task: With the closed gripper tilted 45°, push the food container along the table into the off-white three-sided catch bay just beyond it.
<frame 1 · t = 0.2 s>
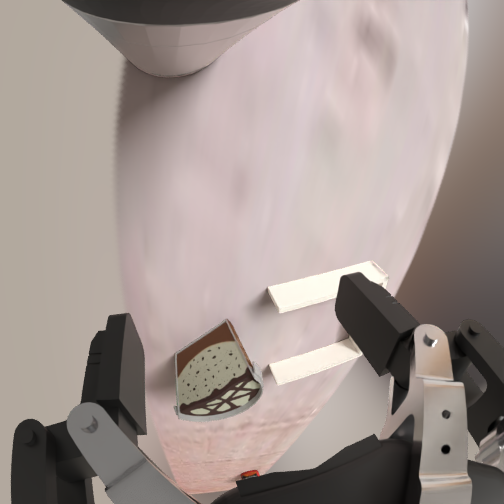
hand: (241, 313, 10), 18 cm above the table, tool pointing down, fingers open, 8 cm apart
canned food: (248, 472, 88), on the table
catch bay: (316, 319, 40), on the table
food container: (213, 345, 37), on the table
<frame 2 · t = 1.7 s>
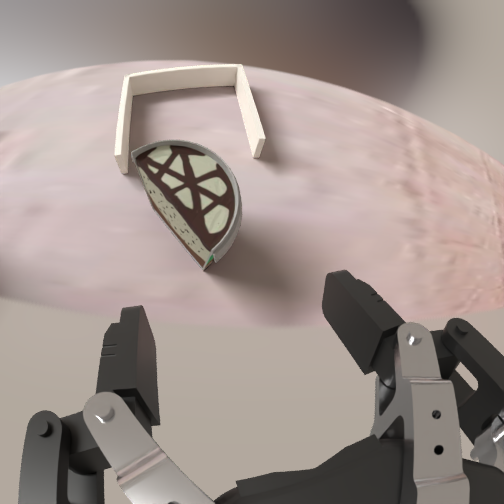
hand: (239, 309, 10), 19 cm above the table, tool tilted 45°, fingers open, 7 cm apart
catch bay: (186, 121, 35), on the table
food container: (198, 223, 31), on the table
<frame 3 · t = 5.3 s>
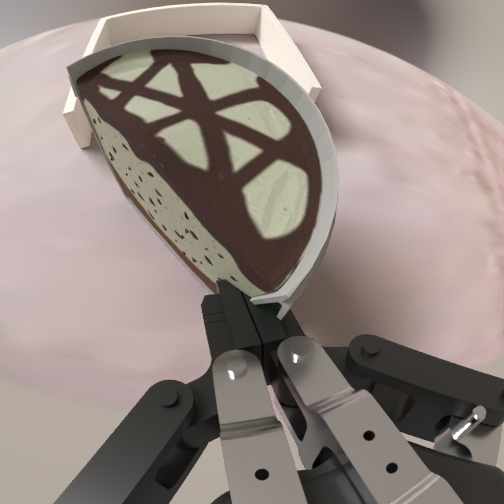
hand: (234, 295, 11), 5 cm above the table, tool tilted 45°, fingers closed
catch bay: (186, 70, 20), on the table
food container: (207, 217, 17), on the table, touching gripper
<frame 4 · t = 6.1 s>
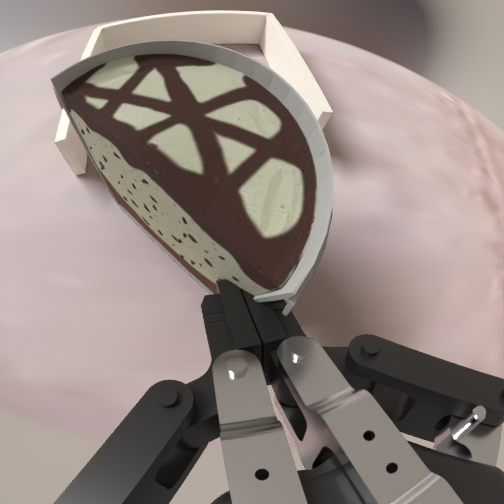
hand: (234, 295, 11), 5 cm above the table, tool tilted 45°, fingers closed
catch bay: (187, 86, 20), on the table
food container: (201, 218, 17), on the table, touching gripper
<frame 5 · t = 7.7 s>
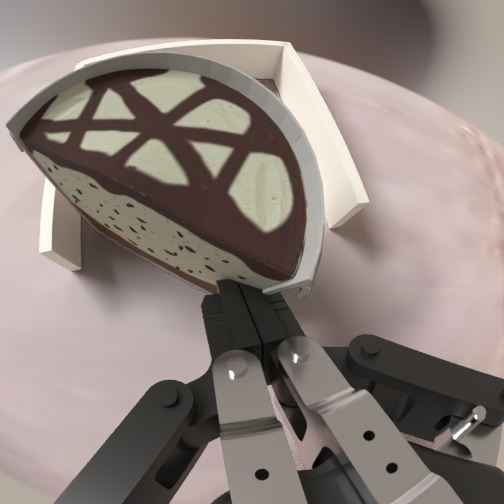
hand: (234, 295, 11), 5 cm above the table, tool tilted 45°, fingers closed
catch bay: (191, 146, 18), on the table
food container: (183, 224, 17), on the table, touching gripper
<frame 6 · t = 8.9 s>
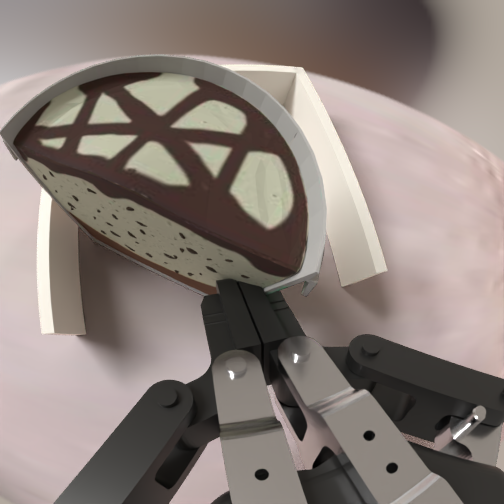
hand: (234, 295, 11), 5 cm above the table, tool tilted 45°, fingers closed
catch bay: (195, 194, 17), on the table
food container: (178, 229, 16), on the table, touching gripper
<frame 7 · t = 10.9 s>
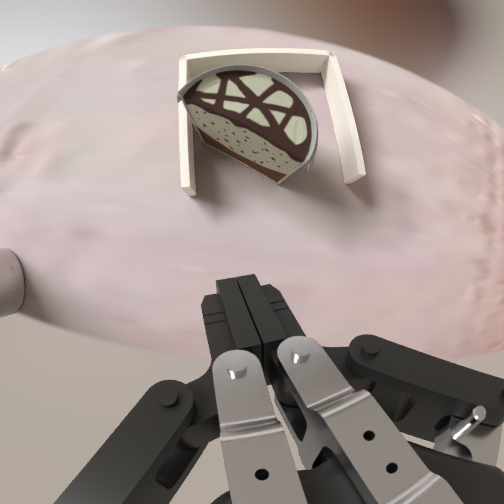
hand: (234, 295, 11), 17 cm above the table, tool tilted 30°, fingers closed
catch bay: (265, 123, 28), on the table
food container: (254, 141, 29), on the table
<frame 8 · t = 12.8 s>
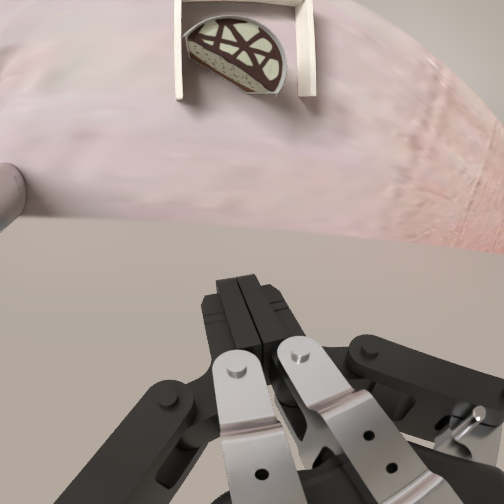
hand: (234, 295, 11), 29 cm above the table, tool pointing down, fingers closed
catch bay: (241, 45, 29), on the table
food container: (230, 58, 30), on the table
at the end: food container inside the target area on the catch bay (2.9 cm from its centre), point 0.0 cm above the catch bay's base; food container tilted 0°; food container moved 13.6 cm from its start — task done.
